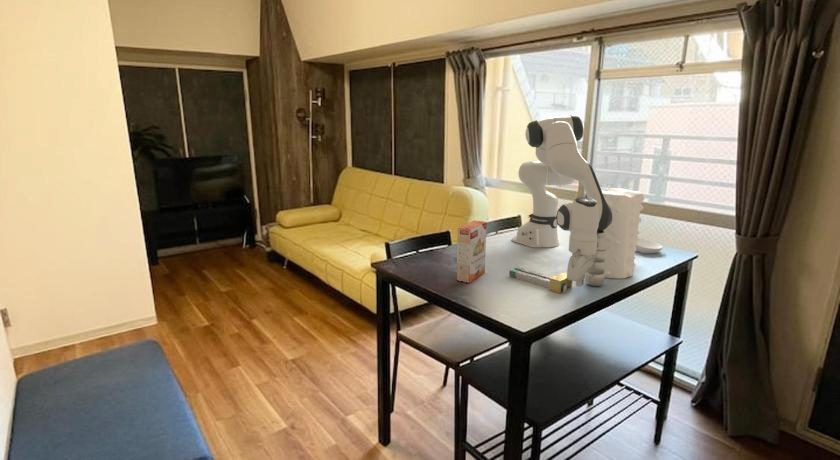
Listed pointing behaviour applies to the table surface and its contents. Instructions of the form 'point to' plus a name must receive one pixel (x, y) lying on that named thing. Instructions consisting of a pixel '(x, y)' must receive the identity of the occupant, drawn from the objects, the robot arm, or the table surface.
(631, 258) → the white bumpy sculpture
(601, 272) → the plastic bottle
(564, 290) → the green-tipped wooden stick
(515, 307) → the table surface
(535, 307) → the table surface
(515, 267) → the tong arm
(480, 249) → the cracker box
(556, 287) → the lock collar
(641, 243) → the spoon rest
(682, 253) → the table surface
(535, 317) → the table surface
